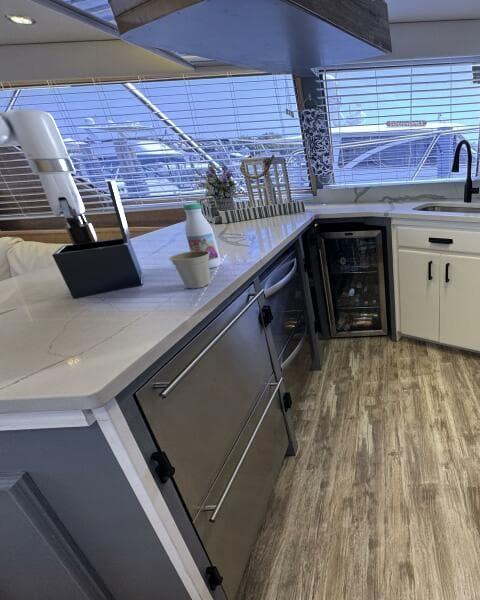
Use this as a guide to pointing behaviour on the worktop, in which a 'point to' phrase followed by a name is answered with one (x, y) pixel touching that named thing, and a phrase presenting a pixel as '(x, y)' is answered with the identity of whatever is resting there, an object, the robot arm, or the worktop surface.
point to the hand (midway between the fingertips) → (85, 240)
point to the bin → (98, 267)
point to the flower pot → (193, 268)
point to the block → (89, 230)
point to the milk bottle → (200, 234)
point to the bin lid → (119, 210)
